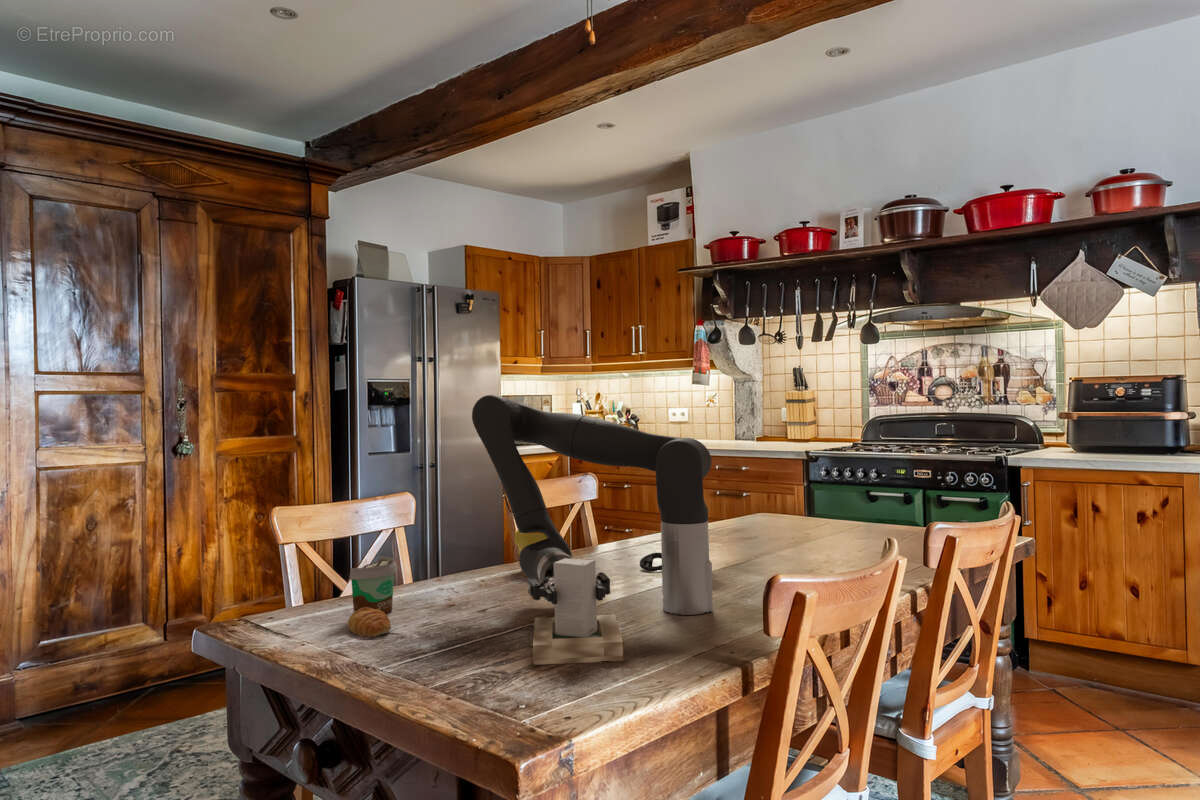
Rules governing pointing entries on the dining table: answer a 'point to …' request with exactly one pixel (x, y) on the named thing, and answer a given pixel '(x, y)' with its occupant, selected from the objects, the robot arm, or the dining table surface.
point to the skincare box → (575, 597)
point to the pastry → (369, 622)
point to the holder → (577, 643)
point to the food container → (374, 585)
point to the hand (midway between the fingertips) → (578, 596)
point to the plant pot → (527, 539)
